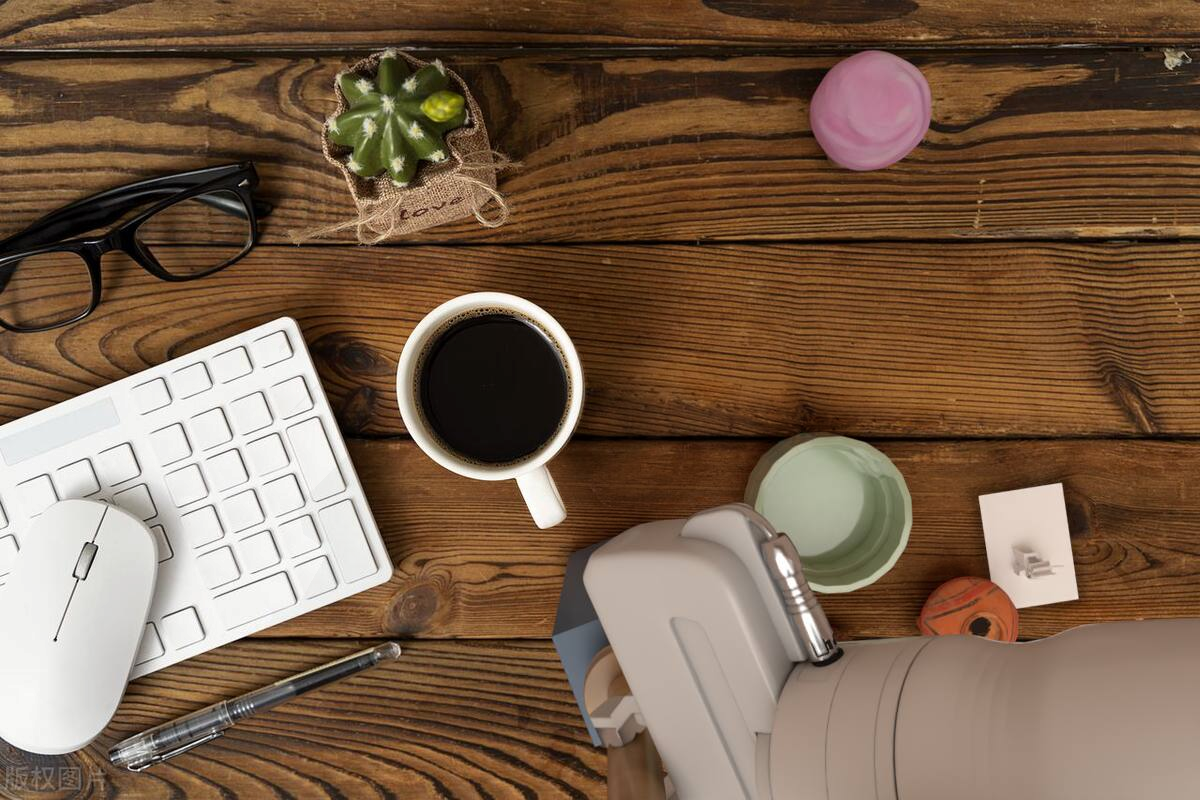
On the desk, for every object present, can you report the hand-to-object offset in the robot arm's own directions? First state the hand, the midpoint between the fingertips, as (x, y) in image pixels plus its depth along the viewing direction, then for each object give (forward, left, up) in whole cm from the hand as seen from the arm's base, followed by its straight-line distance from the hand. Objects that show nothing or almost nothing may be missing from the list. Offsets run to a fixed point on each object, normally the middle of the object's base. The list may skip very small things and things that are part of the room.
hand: (621, 759), depth 39 cm
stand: (0, -1, -34) cm, 34 cm away
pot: (-13, -26, -34) cm, 45 cm away
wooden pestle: (0, -1, -9) cm, 9 cm away
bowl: (0, -18, -34) cm, 38 cm away
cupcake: (+28, -32, -34) cm, 54 cm away
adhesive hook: (-10, -34, -34) cm, 49 cm away
